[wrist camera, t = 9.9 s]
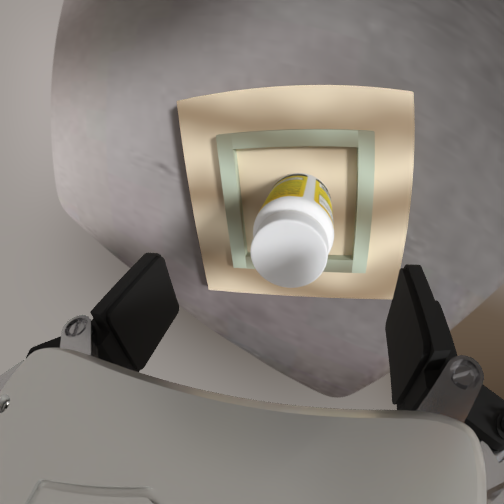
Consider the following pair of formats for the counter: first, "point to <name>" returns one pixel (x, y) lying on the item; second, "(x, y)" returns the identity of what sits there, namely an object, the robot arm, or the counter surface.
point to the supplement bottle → (293, 232)
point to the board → (309, 162)
